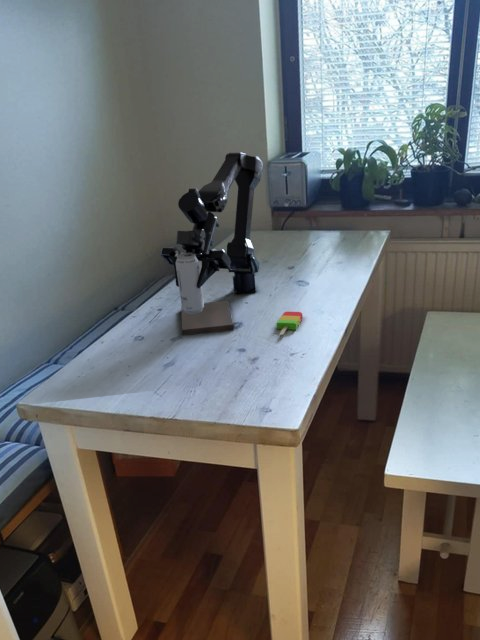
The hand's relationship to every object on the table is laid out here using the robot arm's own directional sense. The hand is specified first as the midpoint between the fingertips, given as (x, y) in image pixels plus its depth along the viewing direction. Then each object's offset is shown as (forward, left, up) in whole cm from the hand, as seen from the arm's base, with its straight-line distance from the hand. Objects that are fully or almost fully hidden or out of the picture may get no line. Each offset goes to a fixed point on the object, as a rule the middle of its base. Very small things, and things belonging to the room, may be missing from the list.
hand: (187, 286), depth 160 cm
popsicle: (-26, +6, -12) cm, 29 cm away
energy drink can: (-1, -1, -7) cm, 7 cm away
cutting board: (-4, -7, -12) cm, 15 cm away
